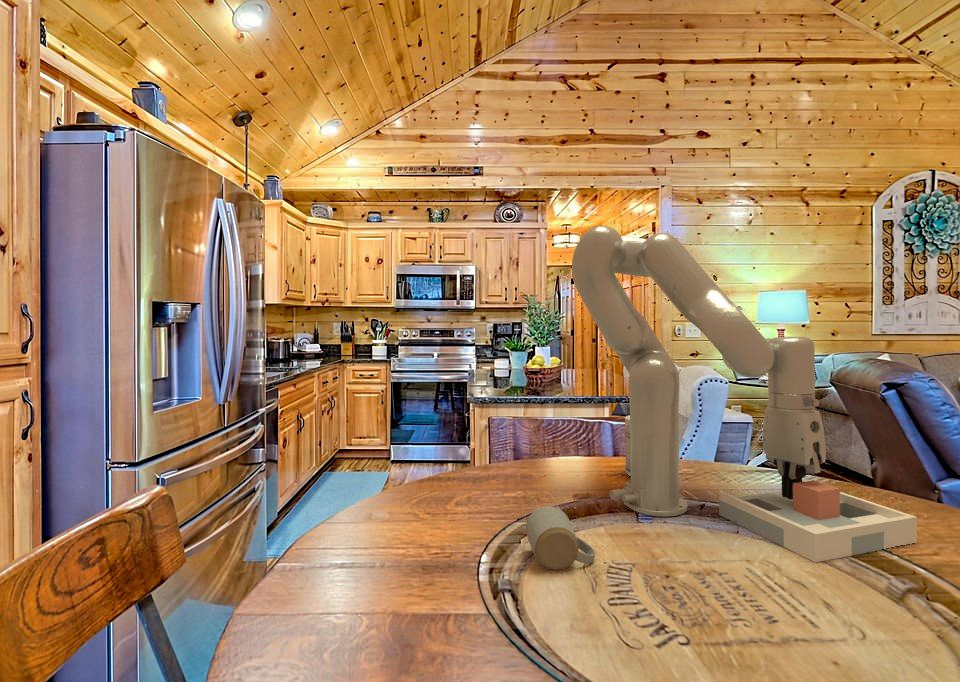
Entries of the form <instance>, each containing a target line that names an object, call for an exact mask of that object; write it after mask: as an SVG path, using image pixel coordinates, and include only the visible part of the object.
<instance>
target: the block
mask: <svg viewBox="0 0 960 682" xmlns="http://www.w3.org/2000/svg"><path fill="white" fill-rule="evenodd" d="M804 481H805V482H803V481H802V482H798V483H793V510H794V511H797V512H799V513H802V514H804V515H807V516H809V517H812V518H815V519H817V520H822V519H827V518H833V517H839V516H840V492H841V489H840V488H839V487H836V486H833V485H830V484H827V483H823V482H820V481H818V480H814V479H813V480H804Z"/></svg>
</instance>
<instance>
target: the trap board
mask: <svg viewBox="0 0 960 682" xmlns="http://www.w3.org/2000/svg"><path fill="white" fill-rule="evenodd" d="M805 481H806V480H802V482H805ZM718 515H719V516H720V517H723V518H725V519H727V520H729V521H731V522H732V523H734V524H737V525H739V526H741V525H742V526H741V527H743V528H745V529H747V530H749V531H751V532H752V533H756V534H757V535H760V536H761V537H764V538H765V539H767V540H769V541H771V542H773V543H774V544H775V543H776V544H778V545H779V546H781V547H784V548H786V549H787V550H789V551H791V552H793V553H795V554H797V555H800V556H802V557H804V558H806V559H807V560H810V561H812V562H814V563H819V562H825V561H830V560H831V561H832V560H835V559H841V558H847V557H852V556H857V555H861V554H862V555H863V554H866V553H867V552H868V553H873V552H877V551H883V550H882V549H884V550H887V549H886V548H889V549H892V548H891V547H894V548H896V547H895V546H900V545H905V546H907V545H906V544H910V545H913V544H912V543H915V544H917V543H918V541H917V540H918V517H917V516H915V515H912V514H909V513H906V512H903V511H900V510H898V509H894V508H891V507H888V506H884V505H882V504H879V503H875V502H873V501H870V500H866V499H864V498H860V497H857V496H854V495H852V494H848V493H846V492H843V491H840V516H839V517H833V518H827V519H822V520H817V519H815V518H812V517H809V516H807V515H804V514H802V513H799V512H797V511H794V510H793V499H788V498H785V497H782V490H781V491H780V490H779V491H774V492H773V491H772V492H764V493H759V494H758V493H757V494H750V495H745V496H744V495H743V496H737V497H736V496H734V495H732V494H729V493H727V492H725V491H719V492H718ZM900 547H901V546H900Z"/></svg>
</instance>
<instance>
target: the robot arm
mask: <svg viewBox="0 0 960 682" xmlns="http://www.w3.org/2000/svg"><path fill="white" fill-rule="evenodd" d="M571 274H572V280H573V283H574V287H575V289H576V291H577V293H578V296H579V297H580V299H581V300H582V302H583V304H584V306H585V307H586V309H587V310H588V312H589V314H590V317H592V319H593V321H594V323H595V324H596V326H597V328H598V330H599V331H600V333H601V335H602V337H603V339H604V341H605V343H606V344H607V346H608V348H610V349H611V350H612V351H614V353H616V355H617V357H618V358H619V360H620V362H621V363H622V365H623V367H624V368H625V370H626V371H627V373H628V374H629V375H628V394H629V395H628V396H629V397H628V399H629V415H630V457H631V477H630V481H628V482H625V486H624V487H623V488H621V489H618V488H617V489H611V490H609V497H610V499H611V500H612V501H613V500H614V501H615V500H622V503H623V502H624V503H625V504H626V505H627V506H628V507H629V508H631V509H632V510H634V511H633V512H635V511H636V512H635V513H638V512H639V513H638V514H641V513H642V515H646V516H651V517H652V516H653V517H654V516H655V517H666V518H667V517H675V516H680V515H683V514H685V513H686V512H687V511H688V509H689V508H688V502H687V501H686V500H685V499H684V498H683V497H681V496H680V432H679V429H680V427H679V425H680V422H679V417H680V416H679V414H680V412H679V411H680V409H679V406H680V374H679V370H678V368H677V366H676V365H675V362H674V361H673V359H672V358H671V357H670V355H669V354H668V352H667V350H666V349H665V348H664V346H663V344H662V343H661V341H660V339H659V338H658V337H657V334H656V333H655V331H654V330H653V329H652V327H651V325H650V323H649V322H648V320H647V319H646V317H644V316H643V314H641V313H640V312H639V311H638V309H637V308H636V306H635V305H634V303H633V302H632V301H631V299H630V297H629V296H628V294H627V293H626V291H625V289H624V287H623V286H622V284H621V282H620V280H619V279H618V278H617V276H616V274H619V275H627V276H635V277H641V278H642V277H643V278H651V279H652V280H653V281H654V283H655V284H656V285H657V286H658V287H659V289H660V290H661V291H662V292H663V293H664V295H665V296H666V298H668V300H669V301H670V302H671V303H672V305H673V306H674V307H675V308H676V309H677V311H678V312H679V313H680V314H681V315H682V316H683V317H684V318H685V319H686V320H687V321H689V322H690V323H691V324H693V325H694V326H695V327H696V328H697V329H698V330H699V331H701V333H702V334H703V335H704V336H705V337H706V338H707V340H709V342H710V343H711V344H712V345H713V347H714V348H716V350H717V351H718V352H719V354H721V358H722V361H723V363H724V365H725V366H726V367H727V368H728V369H729V370H730V371H732V372H734V373H735V374H737V375H739V376H741V377H745V378H749V379H754V378H759V377H763V376H764V375H766V374H767V396H768V397H767V402H768V405H767V406H766V409H765V413H764V418H763V424H762V425H763V426H762V449H763V450H762V451H763V453H764V454H765V460H767V461H769V462H770V463H772V464H774V466H775V467H776V468H777V473H778V475H779V476H781V491H782V497H785V498H788V499H793V483H798V482H803V479H804V478H806V477H807V475H808V474H820V473H821V471H822V470H821V466H820V464H824V463H826V459H827V449H826V448H827V447H826V437H825V430H824V424H823V420H822V416H821V413H820V411H819V410H816V407H819V405H820V400H819V399H816V378H815V377H816V376H815V375H816V374H815V373H816V372H815V371H816V370H815V369H816V363H815V362H816V361H815V360H816V359H815V357H816V356H815V355H816V354H815V353H816V352H815V342H814V341H813V339H811V338H810V337H806V336H777V337H773V338H766V337H765V336H763V335H762V333H761V332H760V331H759V330H758V329H757V328H756V326H755V325H754V324H753V323H752V322H751V320H749V318H748V317H747V316H746V315H745V314H744V313H743V311H742V310H740V308H739V307H738V306H737V305H736V304H735V303H734V302H733V301H732V300H731V299H730V298H729V297H728V296H727V295H726V293H725V292H724V290H722V289H721V288H720V287H719V286H718V285H717V284H716V282H715V281H714V280H713V279H712V278H711V276H709V274H708V273H707V272H706V270H704V269H703V268H702V266H701V265H700V264H699V263H698V261H697V260H696V259H695V257H693V255H691V253H690V252H689V251H688V250H687V248H686V247H685V246H684V244H682V243H681V242H680V241H679V240H678V239H677V238H676V237H675V236H674V235H672V234H671V233H668V232H667V233H666V232H658V233H654V234H652V235H650V236H649V237H647V238H641V237H631V236H625V235H624V236H623V235H621V234H620V233H619V232H618V231H617V230H616V229H614V228H613V227H611V226H609V225H596V226H593V227H592V228H589V230H587V231H586V232H585V233H584V234H583V235H582V236H581V238H580V239H579V241H578V243H577V245H576V247H575V248H574V251H573V255H572V260H571ZM624 503H623V504H624ZM629 508H628V509H629ZM632 510H631V511H632Z"/></svg>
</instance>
